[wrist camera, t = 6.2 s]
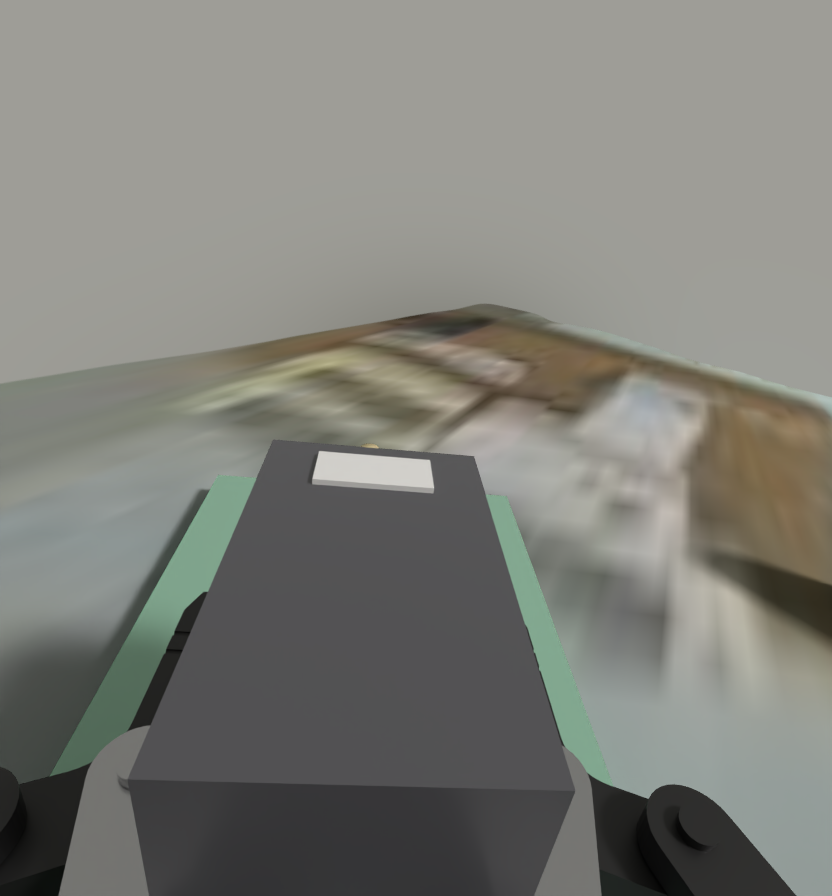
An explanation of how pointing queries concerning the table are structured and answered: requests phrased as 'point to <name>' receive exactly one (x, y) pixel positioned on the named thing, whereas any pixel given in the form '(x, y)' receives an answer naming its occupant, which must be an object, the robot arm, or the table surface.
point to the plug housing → (354, 697)
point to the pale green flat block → (195, 575)
